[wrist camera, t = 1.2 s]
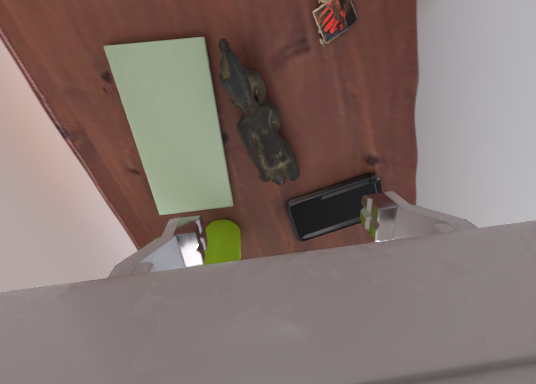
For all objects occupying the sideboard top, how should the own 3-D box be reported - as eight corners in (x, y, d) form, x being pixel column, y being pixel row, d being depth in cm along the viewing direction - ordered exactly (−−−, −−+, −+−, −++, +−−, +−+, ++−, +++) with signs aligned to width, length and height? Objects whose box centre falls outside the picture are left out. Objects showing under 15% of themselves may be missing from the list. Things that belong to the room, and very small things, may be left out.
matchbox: (360, 15, 30) (362, 15, 30) (327, 51, 31) (328, 51, 31) (335, -21, 28) (337, -22, 28) (301, 19, 30) (302, 18, 29)
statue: (296, 162, 40) (236, 25, 28) (312, 178, 36) (250, 25, 24) (261, 182, 40) (187, 53, 28) (273, 201, 36) (191, 59, 24)
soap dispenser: (192, 239, 42) (158, 368, 24) (220, 212, 40) (205, 331, 22) (220, 257, 44) (207, 388, 26) (247, 232, 42) (253, 355, 25)
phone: (384, 214, 42) (297, 243, 43) (381, 211, 43) (296, 239, 44) (379, 173, 38) (284, 205, 39) (375, 170, 39) (283, 201, 40)
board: (108, 46, 29) (103, 45, 28) (205, 37, 30) (203, 36, 28) (161, 211, 39) (159, 215, 38) (233, 202, 40) (233, 206, 39)
